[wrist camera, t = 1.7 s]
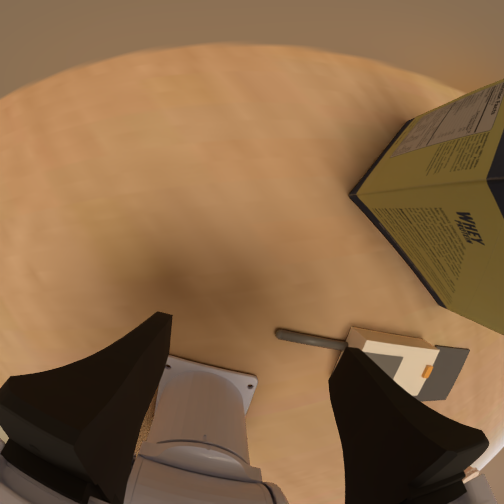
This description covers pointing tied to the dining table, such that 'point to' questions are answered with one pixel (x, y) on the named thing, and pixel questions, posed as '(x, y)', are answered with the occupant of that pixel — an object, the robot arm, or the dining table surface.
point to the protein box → (447, 202)
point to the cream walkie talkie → (382, 353)
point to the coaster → (443, 373)
